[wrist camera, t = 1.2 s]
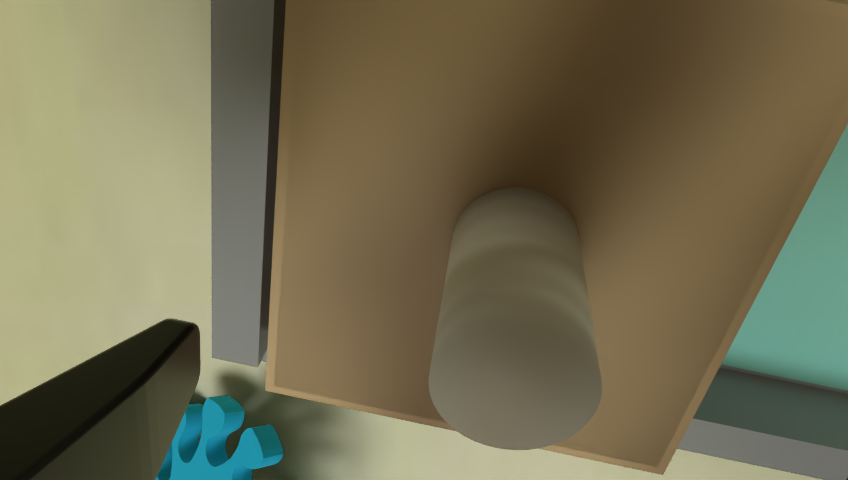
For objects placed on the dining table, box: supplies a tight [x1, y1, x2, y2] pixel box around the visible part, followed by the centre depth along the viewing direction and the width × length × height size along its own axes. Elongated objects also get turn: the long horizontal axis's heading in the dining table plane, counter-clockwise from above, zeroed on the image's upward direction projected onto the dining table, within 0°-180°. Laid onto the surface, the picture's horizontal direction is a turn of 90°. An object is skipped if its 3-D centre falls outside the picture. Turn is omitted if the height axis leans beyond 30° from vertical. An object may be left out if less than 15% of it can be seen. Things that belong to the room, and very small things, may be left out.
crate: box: [265, 0, 848, 475], centre depth 13 cm, size 9×10×9 cm
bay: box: [211, 0, 848, 480], centre depth 16 cm, size 20×14×5 cm
